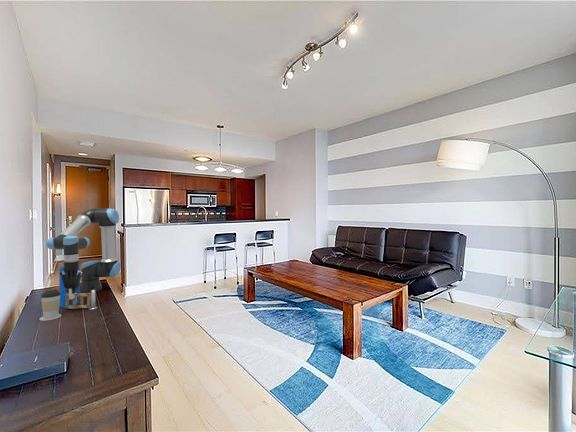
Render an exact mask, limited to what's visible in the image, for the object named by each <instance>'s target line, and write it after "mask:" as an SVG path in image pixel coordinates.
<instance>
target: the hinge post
mask: <svg viewBox="0 0 576 432" xmlns="http://www.w3.org/2000/svg"><path fill="white" fill-rule="evenodd" d="M97 309H98V306H96V292H95V290H91V307H90V308H88V310H90V311H93V310H97Z"/></svg>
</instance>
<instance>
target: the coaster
mask: <svg viewBox="0 0 576 432" xmlns="http://www.w3.org/2000/svg"><path fill="white" fill-rule="evenodd" d="M61 317H62V314H61V313H59V314H58V316H57V317H55V318H50V319H44V318H43V316H41V317H39V321H41V322H44V321H45V322H47V321H48V322H49V321H53V320H56V319H59V318H61Z"/></svg>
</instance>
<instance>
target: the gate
mask: <svg viewBox="0 0 576 432" xmlns="http://www.w3.org/2000/svg"><path fill="white" fill-rule="evenodd" d="M78 296H80V304H78V305H76V297H78ZM84 297H86V304H84ZM90 307H91V293H78V294H75V298H73V305H69V294H65V307H64V308H65V309H66V310H68V309H69V310H70V309H71V308H78V309H86V308H88V309H89V308H90Z"/></svg>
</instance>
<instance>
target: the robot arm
mask: <svg viewBox="0 0 576 432" xmlns="http://www.w3.org/2000/svg"><path fill="white" fill-rule="evenodd" d="M119 221H120V215H119V212H118V211H117V209H115V208H110V207H109V208H108V207H107V208H97V207H94V208H89V209H87V210H85V211H84V212H82V213H80V214H79V215H77V216H76V218H75V220H74V221H73V222H72V223H71V224H70V225H68V226H67V227H66V228H65V229H64V230H63V231H62V232H61V233H59V234H58V235H57V236H56V237H50V238H48V239H47V240H46V247H47V249H49V250H63V267H64V271H63V272H60V275H61V277H62V281H63V285H64V287H65V288H67V289H68V294H69V299H73V298H75V292H76V287H78V286H79V284H80V293H91V290H95V293H97V292H100V291H102V290H103V286H102V283H101V281H100V278H115V277H117V276H119V273H120V272H121V268H122V263H121V262H120V261H118V258H117V257H116V247H115V246H116V245H115V244H116V243H115V242H116V241H115V228H116V226H117V224H118V223H119ZM92 224H98V227H99V228H100V232H101V233H100V234H101V235H100V236H101V255H102V259H99V260H98V259H96V260H89V261H85V262H82V263H81V266H79V265H80V261H79V260H80V254H79V250H83V249H87V248H88V247H90V243H91V241H90V239H89V238H88V237H86V236H80V237H79V236H77V235H79V234H80V232H82V230H83V229H85V228H86V227H89V226H90V225H92ZM78 267H80V271H79V269H78ZM76 274H77V278H76Z"/></svg>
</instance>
